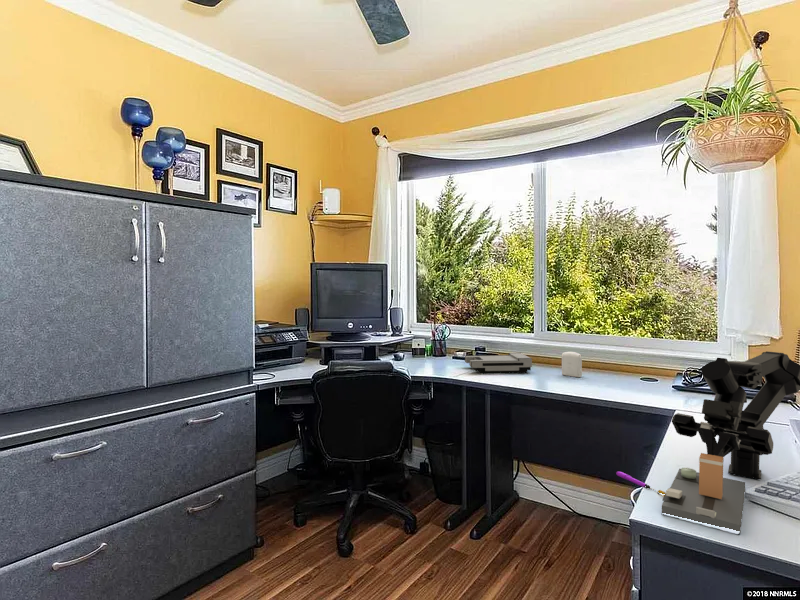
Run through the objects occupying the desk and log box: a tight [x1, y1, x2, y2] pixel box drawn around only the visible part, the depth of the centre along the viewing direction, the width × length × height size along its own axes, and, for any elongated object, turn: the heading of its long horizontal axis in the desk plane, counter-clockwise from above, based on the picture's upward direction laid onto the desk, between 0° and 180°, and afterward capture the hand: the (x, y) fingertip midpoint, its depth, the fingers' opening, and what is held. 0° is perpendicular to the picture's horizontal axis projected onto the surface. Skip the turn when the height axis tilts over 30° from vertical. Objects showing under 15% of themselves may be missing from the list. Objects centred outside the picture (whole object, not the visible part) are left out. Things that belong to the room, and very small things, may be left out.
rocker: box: [665, 487, 682, 498], centre depth 99 cm, size 4×2×1 cm, turn 142°
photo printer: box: [561, 351, 583, 378], centre depth 241 cm, size 10×4×12 cm, turn 39°
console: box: [661, 468, 746, 532], centre depth 102 cm, size 24×13×3 cm, turn 142°
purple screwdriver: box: [615, 471, 666, 494], centre depth 110 cm, size 3×1×16 cm
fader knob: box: [698, 452, 725, 499], centre depth 100 cm, size 3×4×8 cm
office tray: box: [464, 352, 533, 374], centre depth 258 cm, size 21×32×8 cm, turn 92°
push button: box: [680, 467, 697, 479], centre depth 109 cm, size 3×3×1 cm
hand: (710, 464), depth 104 cm, fingers closed
